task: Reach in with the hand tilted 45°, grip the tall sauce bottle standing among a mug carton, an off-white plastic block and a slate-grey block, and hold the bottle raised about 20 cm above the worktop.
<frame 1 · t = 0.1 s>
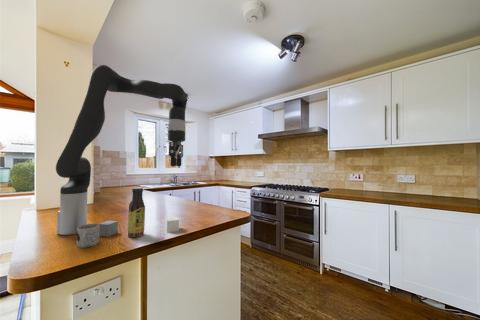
hand: (176, 166, 88), 29 cm above the table, tool pointing down, fingers open, 8 cm apart
off-white block: (172, 229, 89), on the table
sauce bottle: (136, 235, 82), on the table
slate block: (108, 234, 84), on the table
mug: (86, 246, 72), on the table
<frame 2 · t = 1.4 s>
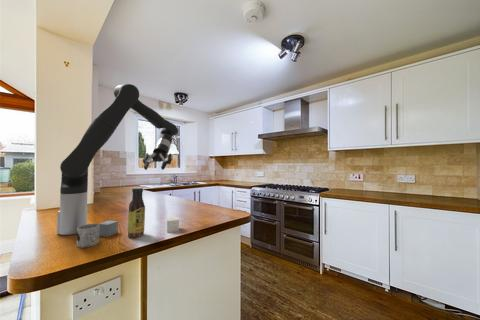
hand: (153, 168, 100), 28 cm above the table, tool tilted 45°, fingers open, 8 cm apart
nothing on the table moved.
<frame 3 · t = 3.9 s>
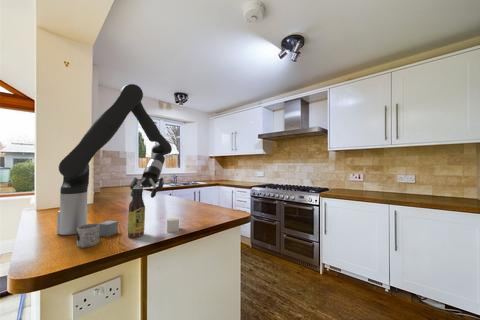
hand: (142, 196, 87), 15 cm above the table, tool tilted 45°, fingers open, 8 cm apart
nothing on the table moved.
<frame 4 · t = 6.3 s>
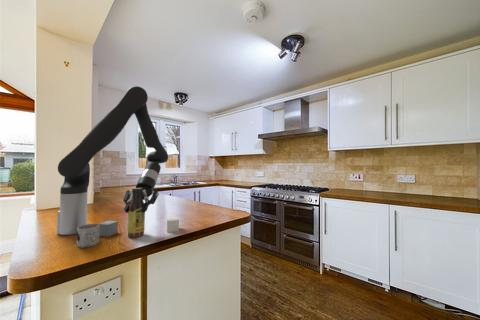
hand: (134, 211, 81), 10 cm above the table, tool tilted 45°, fingers closed on sauce bottle, 6 cm apart
sauce bottle: (136, 235, 82), on the table, touching gripper
everything else where it was.
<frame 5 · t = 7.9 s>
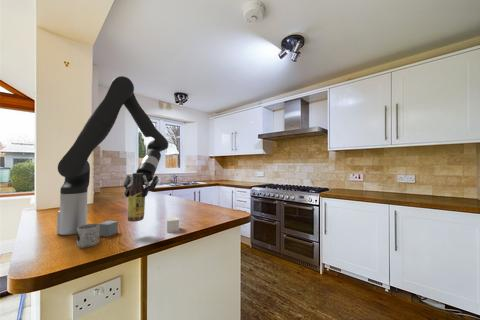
hand: (134, 196, 81), 17 cm above the table, tool tilted 45°, fingers closed on sauce bottle, 6 cm apart
sauce bottle: (136, 220, 82), point 6 cm above the table, touching gripper
everything else where it was.
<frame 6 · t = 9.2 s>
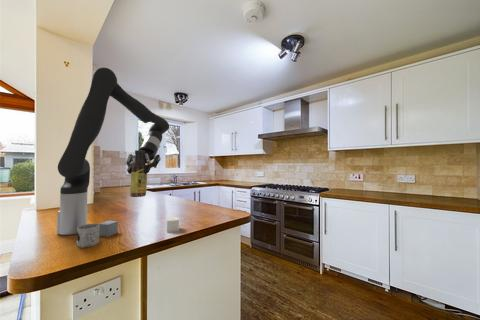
hand: (137, 172, 83), 26 cm above the table, tool tilted 45°, fingers closed on sauce bottle, 6 cm apart
sauce bottle: (138, 196, 84), point 16 cm above the table, touching gripper
everything else where it was.
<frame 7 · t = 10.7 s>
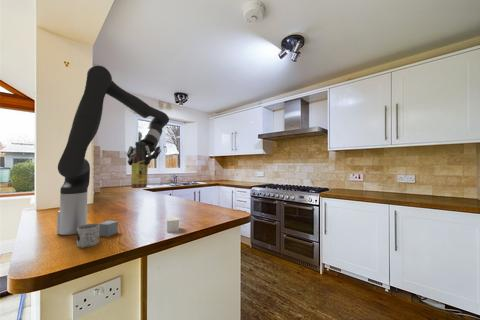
hand: (137, 164, 83), 30 cm above the table, tool tilted 45°, fingers closed on sauce bottle, 6 cm apart
sauce bottle: (139, 188, 85), point 20 cm above the table, touching gripper
everything else where it was.
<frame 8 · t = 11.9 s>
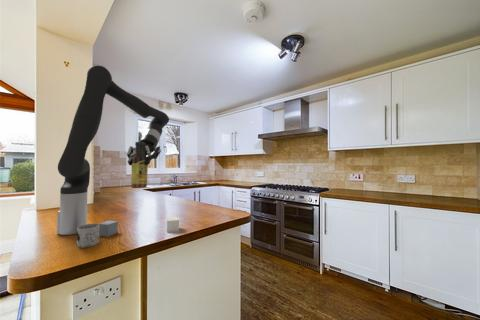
hand: (137, 164, 83), 30 cm above the table, tool tilted 45°, fingers closed on sauce bottle, 6 cm apart
sauce bottle: (139, 188, 85), point 20 cm above the table, touching gripper
everything else where it was.
at the end: the gripper is holding sauce bottle; sauce bottle point 19.6 cm above the table; off-white block moved 0.1 cm from its start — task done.
